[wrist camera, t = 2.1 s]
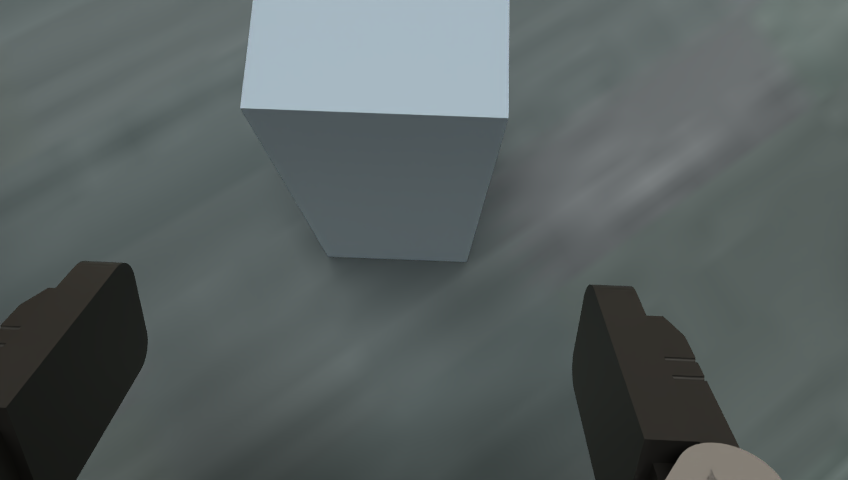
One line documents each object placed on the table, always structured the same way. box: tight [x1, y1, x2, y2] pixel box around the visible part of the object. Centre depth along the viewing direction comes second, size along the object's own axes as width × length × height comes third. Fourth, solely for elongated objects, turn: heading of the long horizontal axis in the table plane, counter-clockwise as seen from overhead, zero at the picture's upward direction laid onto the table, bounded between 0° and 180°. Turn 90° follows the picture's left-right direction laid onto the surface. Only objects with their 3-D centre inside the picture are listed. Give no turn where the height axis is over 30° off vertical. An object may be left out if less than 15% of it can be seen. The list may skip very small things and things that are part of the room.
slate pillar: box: [240, 0, 509, 262], centre depth 19 cm, size 5×5×12 cm
